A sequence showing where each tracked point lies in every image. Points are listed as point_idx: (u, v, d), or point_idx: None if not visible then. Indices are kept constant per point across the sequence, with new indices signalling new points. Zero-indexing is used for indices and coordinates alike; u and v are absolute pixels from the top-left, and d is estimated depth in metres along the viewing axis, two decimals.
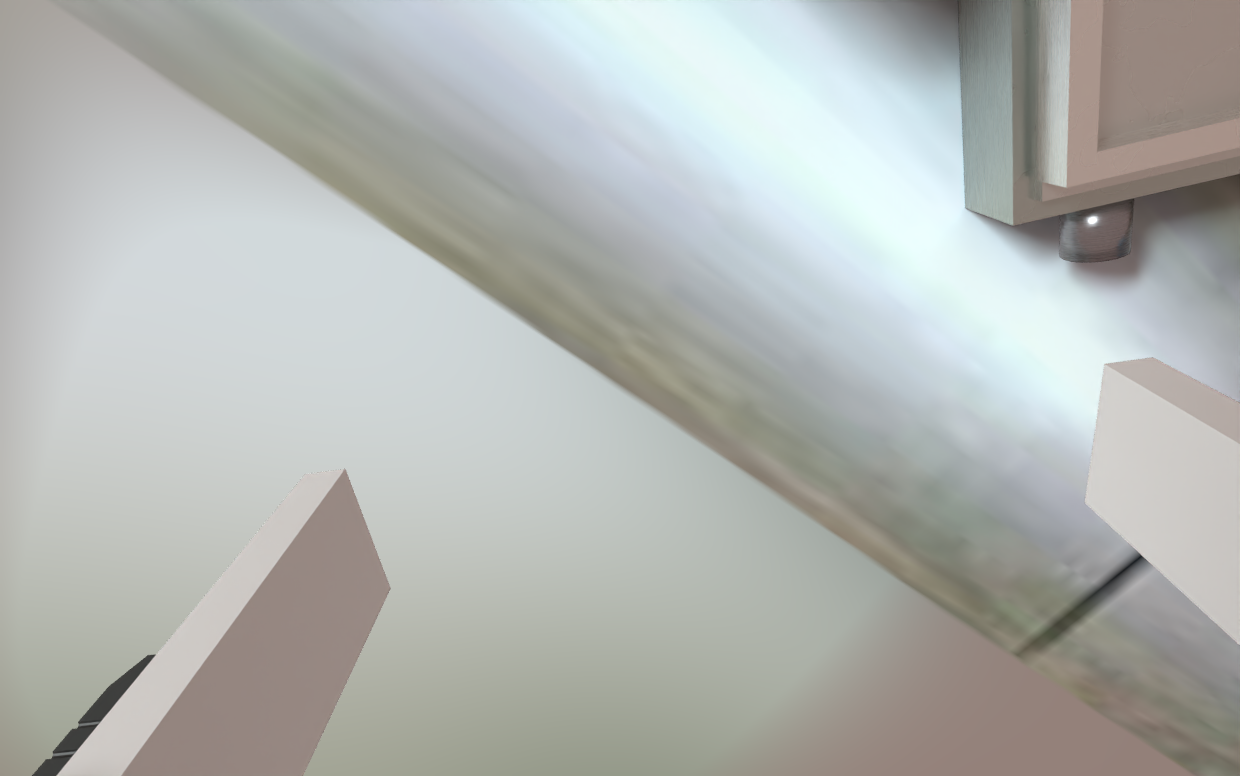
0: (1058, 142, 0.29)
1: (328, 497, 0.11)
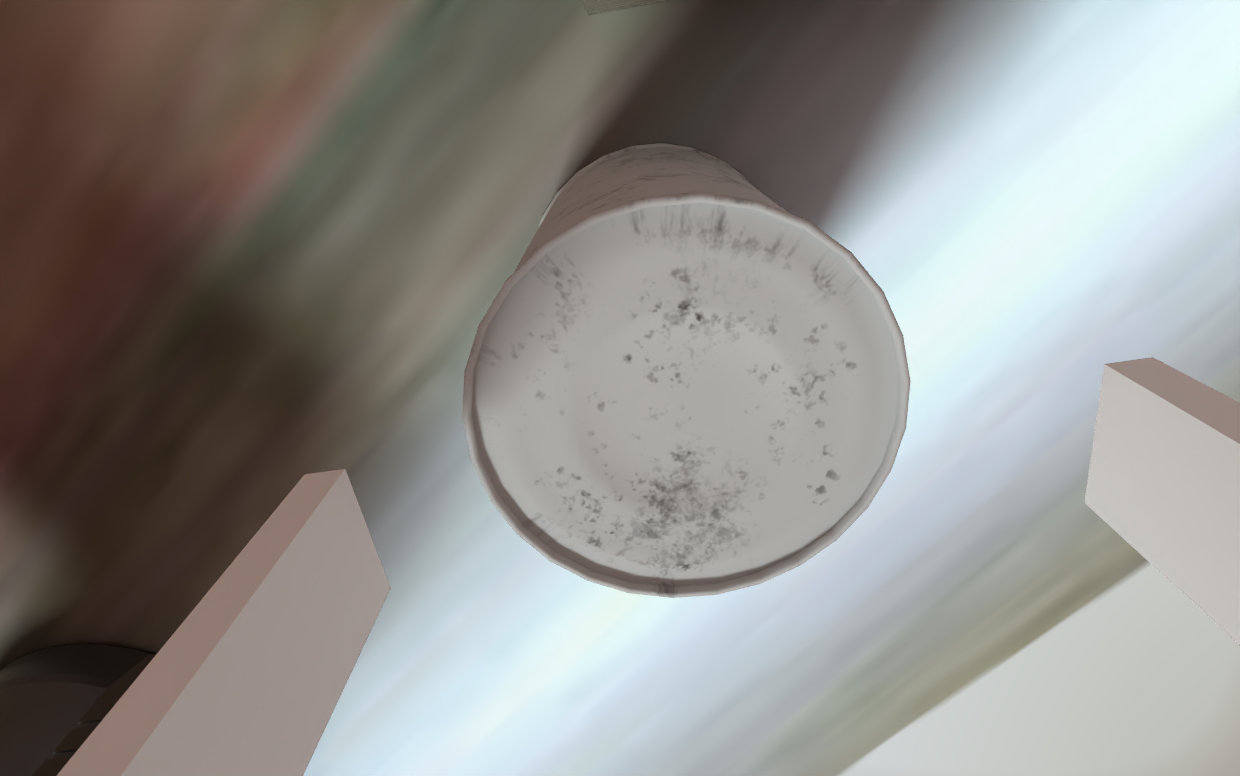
0: None
1: (328, 497, 0.11)
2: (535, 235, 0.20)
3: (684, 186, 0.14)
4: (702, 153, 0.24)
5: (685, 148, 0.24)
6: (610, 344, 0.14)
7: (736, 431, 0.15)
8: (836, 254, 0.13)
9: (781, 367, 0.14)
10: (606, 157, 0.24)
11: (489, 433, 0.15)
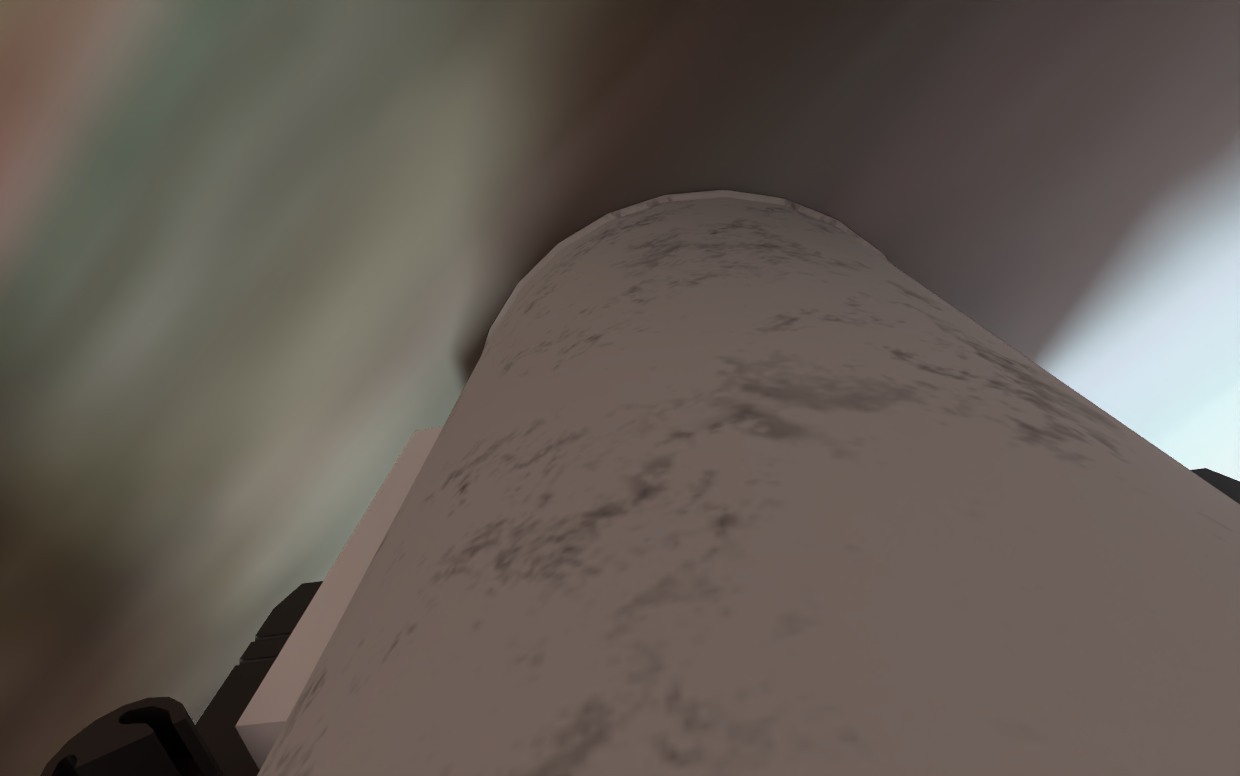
0: None
1: None
2: (440, 437, 0.08)
3: (1043, 622, 0.03)
4: (803, 210, 0.12)
5: (770, 200, 0.12)
6: None
7: None
8: None
9: None
10: (614, 217, 0.12)
11: None
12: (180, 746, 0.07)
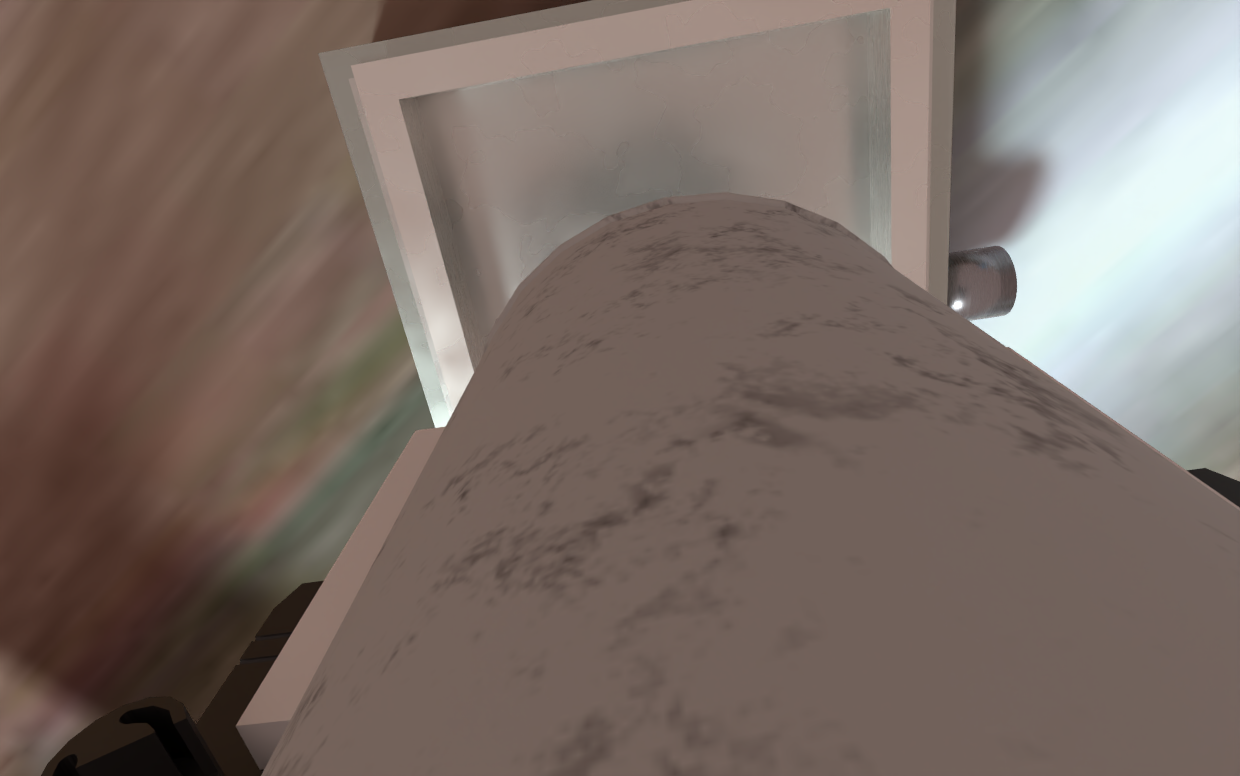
0: None
1: None
2: (440, 441, 0.08)
3: (1047, 636, 0.03)
4: (804, 212, 0.12)
5: (770, 202, 0.12)
6: None
7: None
8: None
9: None
10: (614, 220, 0.12)
11: None
12: (181, 745, 0.07)
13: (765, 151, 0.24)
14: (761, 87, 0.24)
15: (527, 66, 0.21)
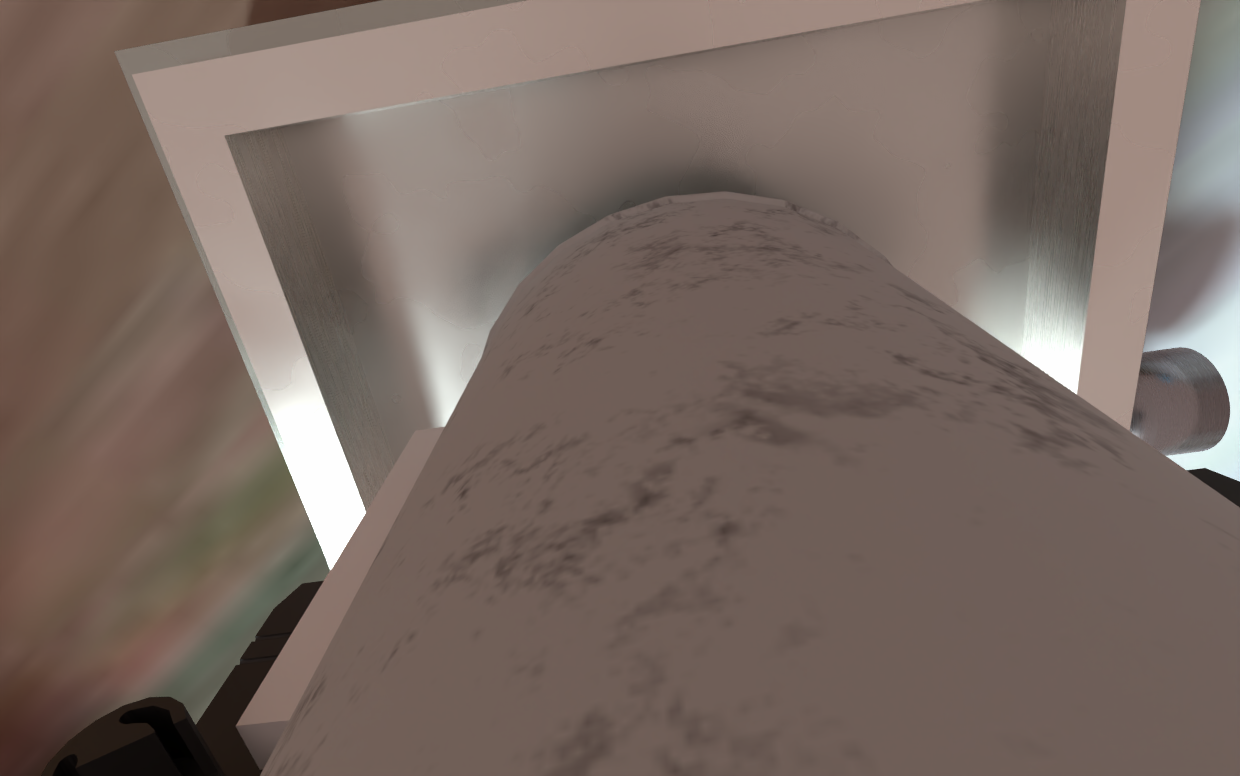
0: None
1: None
2: (440, 440, 0.08)
3: (1049, 634, 0.03)
4: (804, 212, 0.12)
5: (770, 202, 0.12)
6: None
7: None
8: None
9: None
10: (614, 219, 0.12)
11: None
12: (181, 745, 0.07)
13: (861, 218, 0.15)
14: (861, 114, 0.14)
15: (453, 78, 0.12)
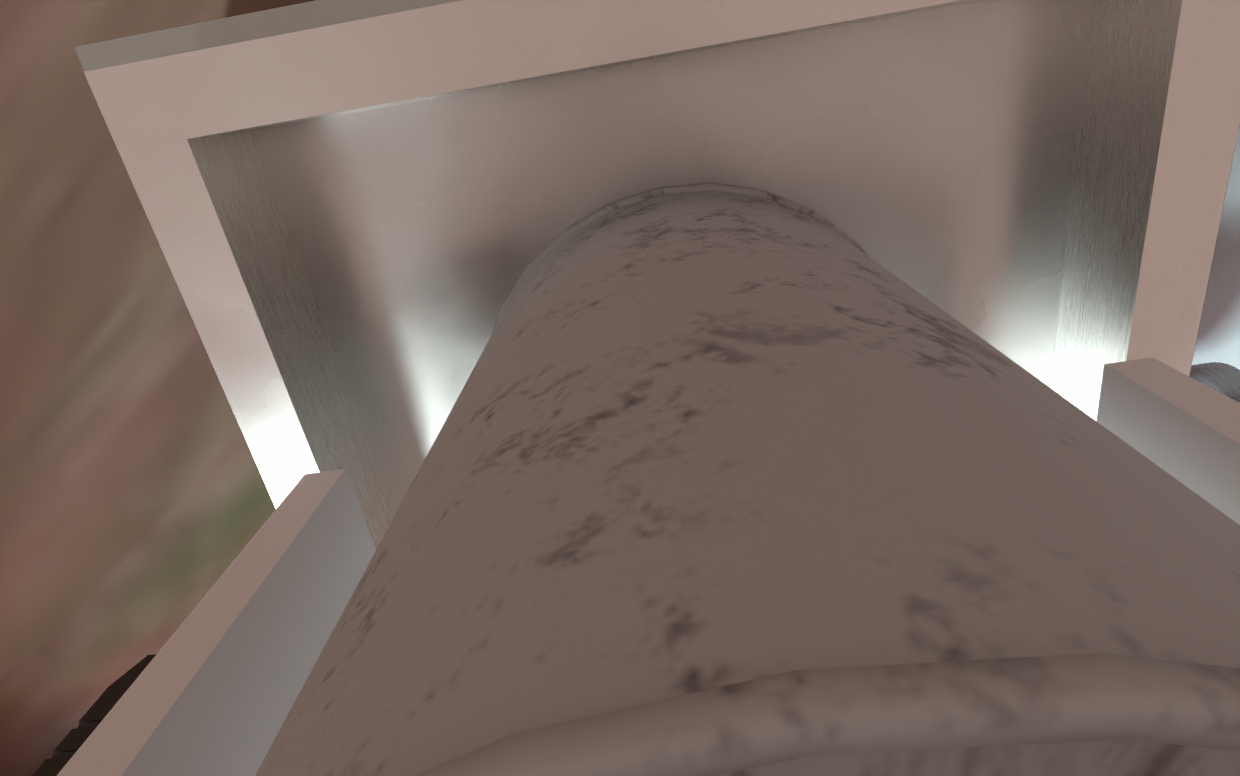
0: None
1: (328, 497, 0.11)
2: (461, 395, 0.09)
3: (894, 457, 0.04)
4: (783, 202, 0.13)
5: (753, 193, 0.13)
6: None
7: None
8: None
9: None
10: (612, 209, 0.13)
11: None
12: None
13: (881, 228, 0.14)
14: (883, 115, 0.13)
15: (437, 76, 0.11)
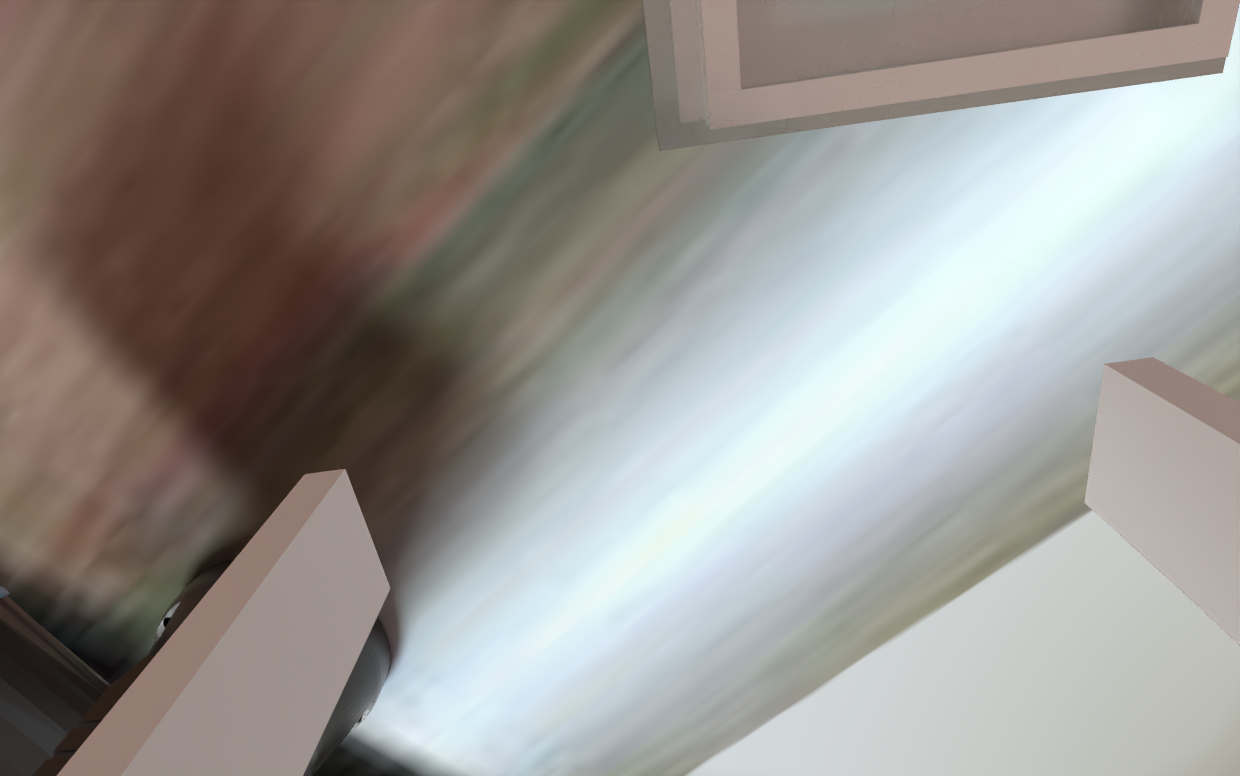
0: None
1: (328, 497, 0.11)
2: None
3: None
4: None
5: None
6: None
7: None
8: None
9: None
10: None
11: None
12: None
13: None
14: None
15: None
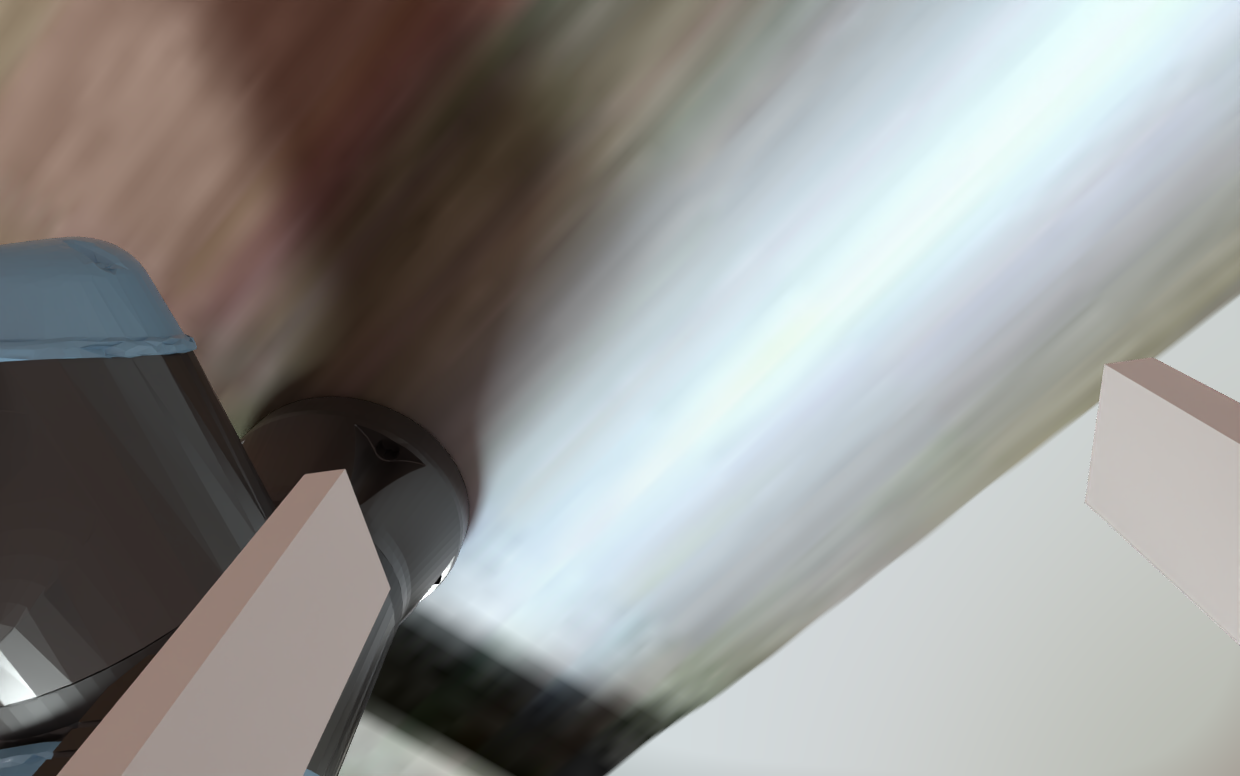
0: None
1: (328, 497, 0.11)
2: None
3: None
4: None
5: None
6: None
7: None
8: None
9: None
10: None
11: None
12: None
13: None
14: None
15: None
